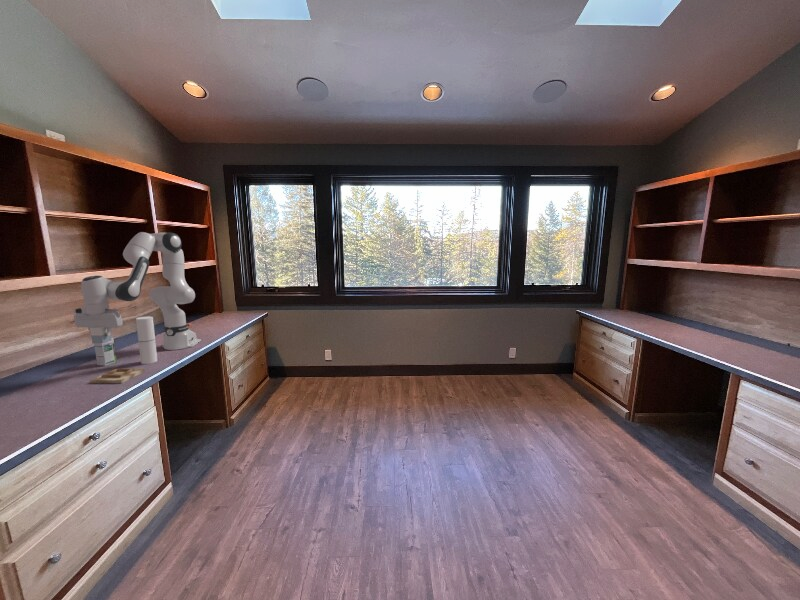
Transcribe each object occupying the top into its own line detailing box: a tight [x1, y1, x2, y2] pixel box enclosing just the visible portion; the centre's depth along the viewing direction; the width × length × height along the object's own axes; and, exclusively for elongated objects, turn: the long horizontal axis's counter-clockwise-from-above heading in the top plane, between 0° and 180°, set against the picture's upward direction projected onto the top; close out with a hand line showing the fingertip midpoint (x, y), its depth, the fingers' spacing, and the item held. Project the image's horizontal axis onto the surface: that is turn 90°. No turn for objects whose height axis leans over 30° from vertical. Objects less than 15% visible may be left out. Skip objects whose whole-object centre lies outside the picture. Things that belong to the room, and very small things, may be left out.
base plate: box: [89, 368, 145, 384], centre depth 152 cm, size 14×14×3 cm
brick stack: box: [89, 327, 112, 344], centre depth 156 cm, size 5×5×8 cm
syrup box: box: [93, 336, 118, 367], centre depth 168 cm, size 6×6×14 cm
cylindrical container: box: [135, 315, 158, 365], centre depth 171 cm, size 7×7×25 cm
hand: (101, 335), depth 156 cm, fingers closed on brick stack, 5 cm apart
